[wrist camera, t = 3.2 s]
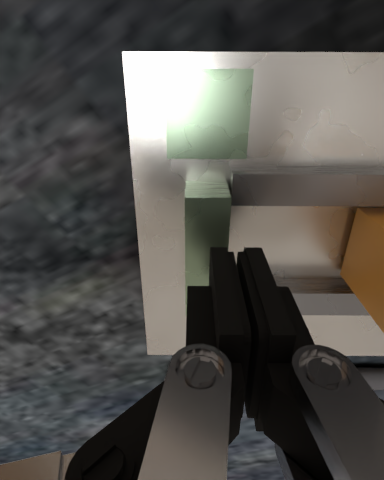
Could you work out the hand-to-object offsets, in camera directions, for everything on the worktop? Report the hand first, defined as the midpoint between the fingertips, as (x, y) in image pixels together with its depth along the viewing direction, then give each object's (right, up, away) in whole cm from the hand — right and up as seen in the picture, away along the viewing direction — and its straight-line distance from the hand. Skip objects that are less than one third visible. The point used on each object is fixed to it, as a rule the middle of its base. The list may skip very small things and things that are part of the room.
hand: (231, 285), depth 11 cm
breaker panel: (+7, +2, +4) cm, 9 cm away
